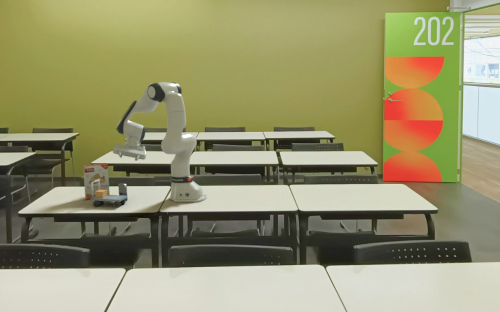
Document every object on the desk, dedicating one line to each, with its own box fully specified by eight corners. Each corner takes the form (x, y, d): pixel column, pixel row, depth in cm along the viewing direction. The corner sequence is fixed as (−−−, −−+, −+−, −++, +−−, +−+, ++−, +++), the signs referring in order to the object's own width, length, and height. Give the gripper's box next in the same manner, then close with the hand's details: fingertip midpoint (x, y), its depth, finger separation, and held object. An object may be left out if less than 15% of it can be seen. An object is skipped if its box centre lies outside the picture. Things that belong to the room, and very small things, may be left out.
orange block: (107, 195, 279) (107, 189, 278) (103, 197, 274) (102, 192, 274) (99, 195, 280) (99, 189, 280) (95, 197, 275) (94, 191, 275)
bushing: (129, 199, 289) (128, 183, 287) (125, 201, 284) (124, 185, 282) (121, 199, 290) (120, 183, 288) (117, 201, 285) (116, 184, 283)
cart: (127, 203, 279) (126, 179, 277) (120, 207, 271) (118, 183, 268) (99, 202, 283) (98, 178, 281) (91, 206, 275) (89, 182, 272)
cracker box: (86, 200, 288) (84, 166, 285) (85, 198, 293) (82, 164, 290) (110, 197, 295) (108, 164, 291) (108, 195, 300) (106, 162, 296)
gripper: (115, 140, 301) (112, 150, 289) (147, 147, 306) (145, 157, 294) (113, 148, 304) (110, 158, 291) (145, 155, 308) (143, 165, 296)
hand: (128, 158), depth 293 cm, fingers open, 8 cm apart
